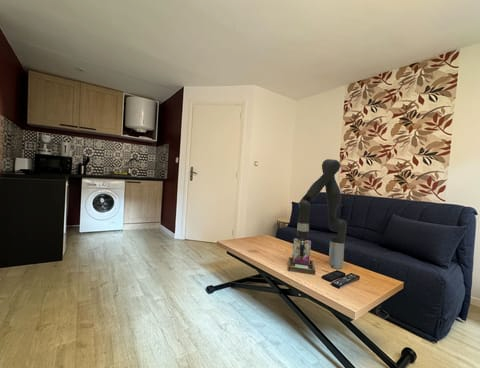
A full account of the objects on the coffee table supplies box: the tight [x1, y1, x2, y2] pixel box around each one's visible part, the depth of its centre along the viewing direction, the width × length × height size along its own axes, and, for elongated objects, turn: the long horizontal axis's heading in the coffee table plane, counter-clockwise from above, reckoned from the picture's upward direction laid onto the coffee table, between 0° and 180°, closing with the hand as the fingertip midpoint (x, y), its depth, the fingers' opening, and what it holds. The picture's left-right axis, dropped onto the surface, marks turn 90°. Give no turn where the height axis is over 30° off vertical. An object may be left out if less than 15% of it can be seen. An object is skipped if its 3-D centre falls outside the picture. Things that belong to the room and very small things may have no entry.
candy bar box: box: [291, 237, 312, 264], centre depth 154 cm, size 11×5×16 cm, turn 67°
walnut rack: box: [287, 257, 316, 276], centre depth 149 cm, size 19×16×4 cm
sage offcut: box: [294, 264, 309, 269], centre depth 145 cm, size 6×8×2 cm
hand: (301, 254), depth 154 cm, fingers closed on candy bar box, 5 cm apart
